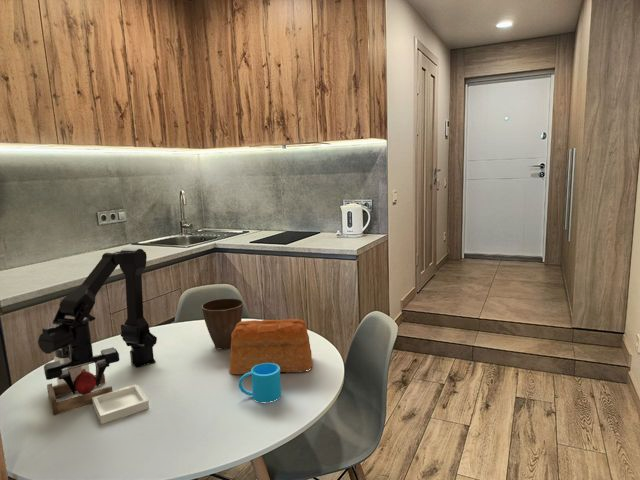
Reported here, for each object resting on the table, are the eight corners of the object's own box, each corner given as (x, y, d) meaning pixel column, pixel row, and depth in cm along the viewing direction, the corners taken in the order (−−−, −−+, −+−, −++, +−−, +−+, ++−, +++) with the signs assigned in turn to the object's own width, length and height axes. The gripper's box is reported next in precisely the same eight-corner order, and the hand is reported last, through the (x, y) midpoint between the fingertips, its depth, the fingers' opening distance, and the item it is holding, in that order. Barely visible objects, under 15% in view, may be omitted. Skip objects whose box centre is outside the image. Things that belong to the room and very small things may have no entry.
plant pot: (196, 348, 160) (192, 306, 157) (226, 335, 172) (223, 296, 169) (224, 357, 151) (221, 313, 149) (253, 342, 163) (251, 301, 161)
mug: (281, 388, 129) (280, 362, 127) (280, 402, 121) (279, 375, 119) (240, 390, 128) (239, 364, 127) (237, 405, 120) (235, 377, 119)
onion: (100, 394, 127) (97, 368, 126) (79, 402, 123) (76, 376, 122) (93, 388, 131) (90, 363, 130) (72, 395, 127) (69, 369, 126)
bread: (234, 358, 150) (232, 316, 148) (311, 355, 151) (310, 313, 149) (227, 377, 137) (224, 331, 134) (312, 373, 137) (310, 328, 135)
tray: (137, 391, 129) (136, 384, 129) (149, 408, 120) (148, 400, 119) (92, 405, 122) (92, 397, 122) (101, 424, 113) (100, 415, 112)
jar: (58, 390, 131) (53, 353, 129) (57, 380, 138) (52, 344, 136) (91, 382, 136) (87, 345, 134) (88, 372, 142) (84, 337, 141)
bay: (104, 381, 136) (103, 369, 135) (113, 397, 126) (111, 384, 125) (48, 397, 127) (46, 384, 126) (53, 415, 117) (51, 402, 116)
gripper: (108, 324, 136) (114, 370, 139) (38, 339, 125) (46, 389, 128) (117, 334, 128) (122, 384, 130) (42, 351, 117) (50, 405, 119)
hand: (86, 390), depth 127 cm, fingers closed on onion, 6 cm apart
